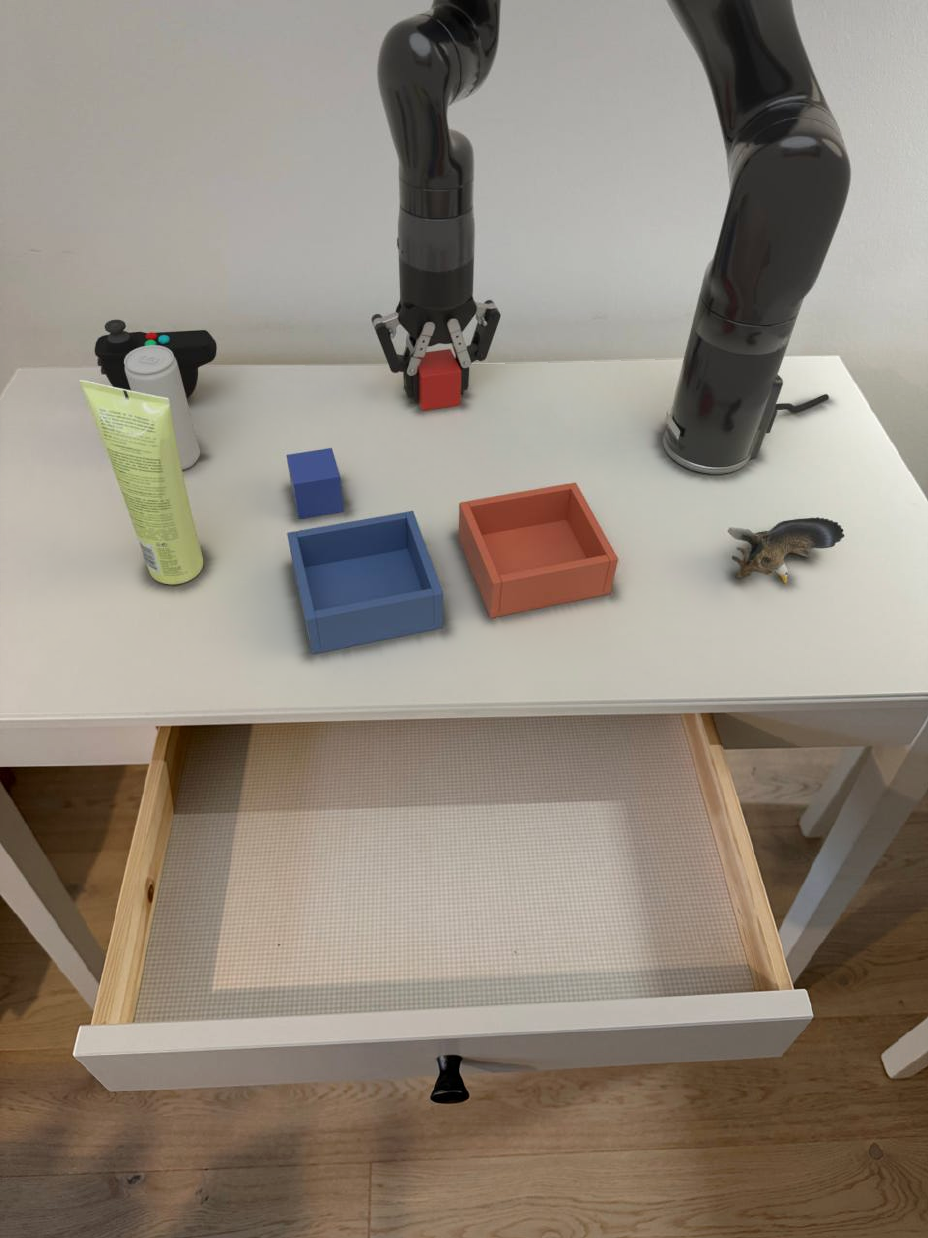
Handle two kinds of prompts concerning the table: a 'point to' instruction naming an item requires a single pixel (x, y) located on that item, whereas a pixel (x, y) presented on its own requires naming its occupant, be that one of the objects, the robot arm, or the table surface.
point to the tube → (149, 477)
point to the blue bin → (365, 581)
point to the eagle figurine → (784, 543)
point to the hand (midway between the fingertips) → (436, 394)
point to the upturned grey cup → (164, 393)
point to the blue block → (315, 483)
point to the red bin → (535, 549)
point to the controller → (184, 345)
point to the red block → (439, 380)
